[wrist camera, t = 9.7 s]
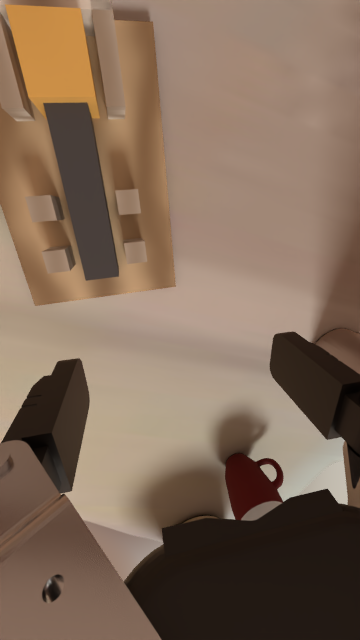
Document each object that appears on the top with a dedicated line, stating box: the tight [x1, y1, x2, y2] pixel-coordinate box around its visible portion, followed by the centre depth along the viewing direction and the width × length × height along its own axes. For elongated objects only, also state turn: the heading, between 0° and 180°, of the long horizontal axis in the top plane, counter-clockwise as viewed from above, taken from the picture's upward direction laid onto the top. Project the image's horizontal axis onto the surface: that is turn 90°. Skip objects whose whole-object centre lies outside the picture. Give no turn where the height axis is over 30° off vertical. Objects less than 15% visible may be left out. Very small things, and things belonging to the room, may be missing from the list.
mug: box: [225, 453, 283, 521], centre depth 43 cm, size 11×8×10 cm
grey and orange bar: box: [5, 4, 119, 281], centre depth 22 cm, size 18×5×5 cm, turn 4°
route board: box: [0, 0, 176, 306], centre depth 23 cm, size 16×23×4 cm
